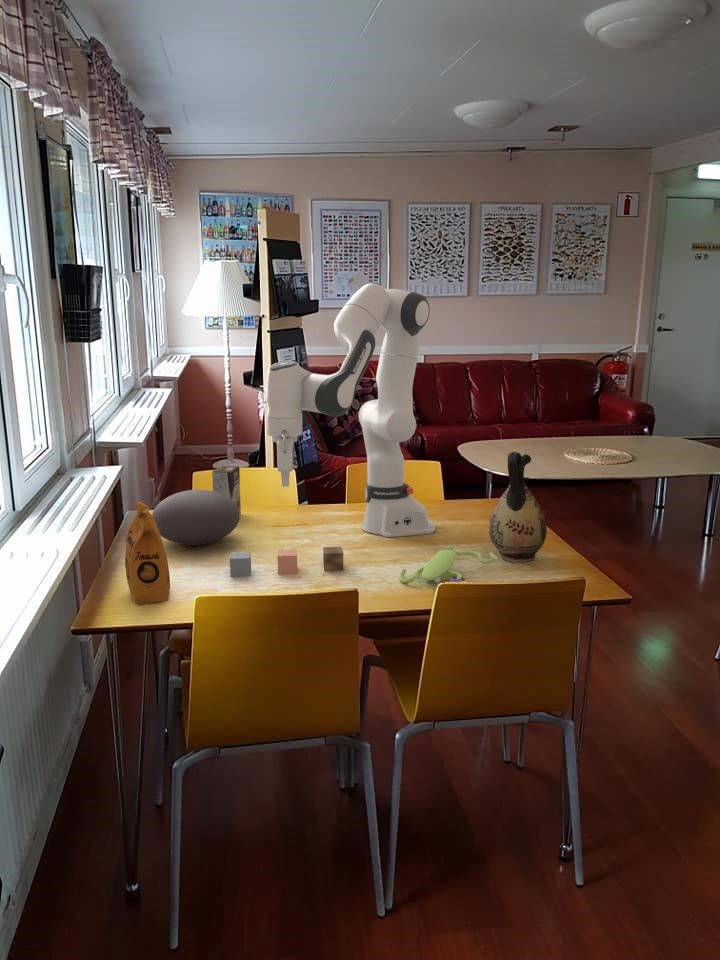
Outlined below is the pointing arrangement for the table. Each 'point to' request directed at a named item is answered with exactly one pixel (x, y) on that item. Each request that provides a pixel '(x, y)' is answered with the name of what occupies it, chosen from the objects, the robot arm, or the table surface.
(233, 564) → the slate block
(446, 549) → the figurine
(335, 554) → the walnut block
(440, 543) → the table surface
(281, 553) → the terracotta block
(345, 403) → the robot arm
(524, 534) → the ceramic jug
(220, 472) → the coffee box
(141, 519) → the coffee package
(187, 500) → the flattened ellipsoid
